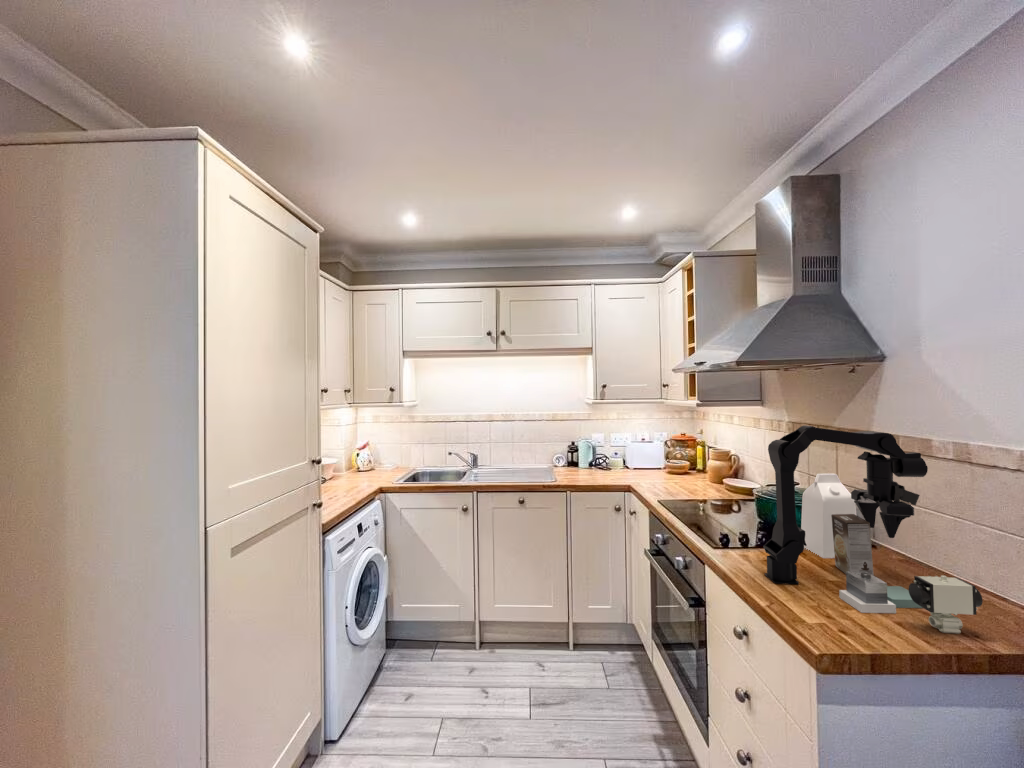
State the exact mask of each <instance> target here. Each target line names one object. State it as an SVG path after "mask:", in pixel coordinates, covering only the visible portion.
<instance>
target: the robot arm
mask: <svg viewBox="0 0 1024 768" xmlns="http://www.w3.org/2000/svg"><path fill="white" fill-rule="evenodd" d="M814 441H819V442H820V441H822V442H828V443H835V444H843V445H848V446H849V445H851V446H854V447H857V448H859V449H863V450H866V451H863V453H861V454H860V455H858V456H857V460H862V461H865V462H866V478H865V477H864V478H863V483H866V489H853V490H852V491H851V492H850V494H851V499H854V500H855V501H854V503H856V508H858V510H859V511H860V513H861V515H862V518H863V519H864V520H866V521H867V522H870V529H874V528H875V524H876V516H877V509H880V511H879V512H878V514H879V516H880V518H881V521H882V524H883V526H884V529H885V532H886V535H887V537H888V538H890V539H895V536H896V534H897V532H898V529H899V527H900V525H901V522H903V520H905V519H907V518H910V517H911V516H915V507H914V506H916V505H917V503H918V500H919V498H920V494H918V493H915V492H913V491H910V490H908V489H907V490H906V488H905V485H902V484H899V483H898V482H897V481H895V480H894V476H896V477H898V478H924V477H925V476H927V474H928V469H929V468H928V465H927V463H926V461H925V460H924V458H922V454H921V452H915V451H911V452H905V451H904V449H903V448H901V446H900V445H899V444H898V443H897V440H896V437H894V435H893V434H892V433H890V432H884V431H875V430H870V431H869V430H867V431H866V430H864V431H863V430H861V431H845V430H844V431H843V430H839V429H837V430H836V429H831V428H830V429H829V428H824V427H823V428H821V427H816V426H813V425H807V424H806V425H801V426H799V427H798V428H797V429H795V430H793V431H791V432H789V433H788V434H785V435H784V436H782V437H781V438H779V439H775V440H773V441H771V442H770V443H769V444H768V446H767V448H768V449H767V452H768V456H769V460H770V463H771V465H772V467H773V469H774V474H775V495H776V497H775V499H776V522H775V524H774V526H773V528H772V535H771V538H770V539H768V541H767V542H765V543H764V544H763V549H764V552H765V553H766V554H767V555H766V572H764V573H763V574H764V576H765V577H766V578H768V579H769V580H770V581H771V582H772V583H774V584H777V585H779V584H780V585H799V581H798V580H797V579H798V574H797V573H798V571H797V568H798V566H797V562H798V560H799V557H800V555H801V554H802V553H803V552H805V551H804V550H805V548H804V545H805V546H807V545H806V543H805V531H804V530H802V529H801V527H799V525H798V523H797V515H796V514H797V513H796V510H797V509H796V492H795V490H796V489H795V488H796V487H795V471H796V470H797V467H798V466H799V460H800V454H801V453H803V452H804V451H806V450H807V449H808V447H810V445H811V444H812V442H814ZM871 452H874V453H875V454H874V453H873V454H872V453H871ZM877 453H878V454H877ZM886 456H889V457H886Z"/></svg>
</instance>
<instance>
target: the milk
mask: <svg viewBox="0 0 1024 768" xmlns="http://www.w3.org/2000/svg"><path fill="white" fill-rule="evenodd" d="M801 499H802V500H801V519H800V521H801V523H800V525H801V526H800V528H801V529H802V530H804V531H805V543H806V545H807V546H805V545H804V549H805V548H806V549H805V550H807V549H808V550H807V551H809V550H810V551H811V553H812V552H813V553H812V554H814V553H815V554H814V555H816V554H817V555H816V556H818V555H819V556H818V557H820V558H822V559H835V553H834V541H833V528H832V514H855V515H856V516H858V515H857V505H856V503H854V501H856V500H854V499H851V492H850V491H849V490H848V489H847V487H846V486H845V485H844V484H843V483H842V482H841V479H840V478H839V475H838V474H837V473H816V475H815V479H814V482H812V483H811V484H810V485H809V486H808V487H807V488H806V489H805V490H804V491H803V493H802V498H801ZM810 551H809V552H810Z"/></svg>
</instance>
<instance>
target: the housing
mask: <svg viewBox="0 0 1024 768" xmlns="http://www.w3.org/2000/svg"><path fill="white" fill-rule="evenodd" d="M845 580H846V581H845V582H846V588H845V589H846V590H847V592H849V593H851V594H852V595H854V596H855V597H857V598H858V599H860V600H862V601H863V602H865V603H867V604H888V596H887V586H888V583H887V582H885V581H884V580H882V579H881V578H879V577H877V576H875V575H874V576H873V575H871V574H869V573H868V572H850V571H846V574H845Z"/></svg>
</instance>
